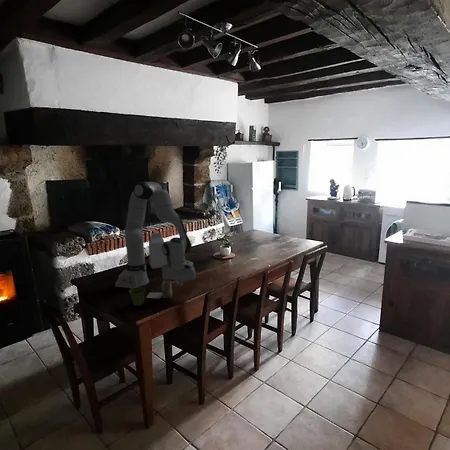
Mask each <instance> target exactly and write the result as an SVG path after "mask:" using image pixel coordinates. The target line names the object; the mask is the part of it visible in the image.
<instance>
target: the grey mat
mask: <svg viewBox="0 0 450 450" xmlns="http://www.w3.org/2000/svg"><path fill="white" fill-rule="evenodd" d="M146 298H153V299H154V300H155V299H158V300H161V299H162V298H163V296H162V292H149V293H148V294H147V296H145V299H146ZM160 298H161V299H160ZM153 299H152V300H153Z"/></svg>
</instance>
